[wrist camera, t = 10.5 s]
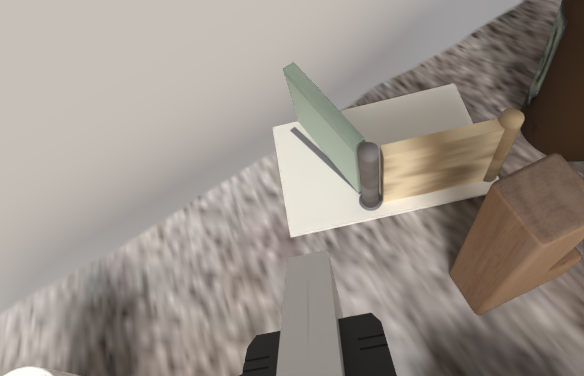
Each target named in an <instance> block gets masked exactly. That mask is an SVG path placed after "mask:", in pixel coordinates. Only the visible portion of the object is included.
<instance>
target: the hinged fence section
mask: <svg viewBox="0 0 584 376" xmlns="http://www.w3.org/2000/svg"><path fill="white" fill-rule="evenodd" d="M283 71H284V74H285V76H286V80H287V83H288V86H289V90H290V94H291V97H292V101H293V104H294V108H295V111H296V115H297V118H298V122H299V123H300V124H301V126H302V127H303V128H304V129H305V130H306V132H307V133H308V134H309V135H310V136H311V137H312V139H313V140H314V141H315V142H316V143H317V145H318V146H319V147H320V148H321V149H322V150H323V152H324V153H325V154H326V155H327V156H328V158H329V159H330V160H331V161H332V162H333V164H334V165H335V166H336V167H337V168H338V169H339V171H340V172H341V173H342V174H343V175H344V177H345V178H346V179H347V180H348V181H349V182H350V184H351V185H352V186H353V187H354V188H355V190H356V191H357V192H358V193H359V192H361V185H360V174H359V163H358V152H357V150H358V147H359V146H360V145H361V144H362V143H365V137H364V136H363V135H362V134H361V133H360V132H359V131H358V130H357V129H356V128H355V127H354V126H353V125H352V124H351V123H350V122H349V120H348V119H347V118H346V117H345V116H344V115H343V114H342V113H341V112H340V111H339V110H338V109H337V108H336V107H335V106H334V105H333V104H332V102H331V101H330V100H329V99H328V98H327V97H326V96H325V95H324V94H323V93H322V92H321V91H320V90H319V89H318V87H316V85H315V84H314V83H313V82H312V81H311V80H310V79H309V78H308V77H307V76H306V75H305V74H304V73H303V72H302V71H301V69H300V68H299V67H298V66H297V65H296V64H295V63H291V64H290V65H288V66H286V67H285V68H283Z"/></svg>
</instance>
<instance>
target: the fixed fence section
mask: <svg viewBox="0 0 584 376" xmlns="http://www.w3.org/2000/svg"><path fill="white" fill-rule="evenodd" d="M524 119H525V117H524V114H523V113H522V112H521V111H519V110H517V109H513V108H510V109H506V110H504V111H503V112H502V113H501V116H500V118H497V119H493V120H488V121H484V122H480V123H475V124H471V125H467V126H463V127H458V128H454V129H450V130H445V131H441V132H437V133H433V134H428V135H424V136H420V137H415V138H411V139H407V140H402V141H398V142H394V143H390V144H385V145H381V146H380V189H381V196H382V199H383V203H386V202H390V201H395V200H399V199H404V198H408V197H413V196H417V195H422V194H426V193H431V192H435V191H440V190H444V189H449V188H453V187H458V186H463V185H467V184H472V183H476V182H481V181H484V182H492V181H494V180H495V179H496V177H497V175H498V173H499V171H500V169H501V167H502V165H503V163H504V161H505V159H506V157H507V155H508V153H509V151H510V148H511V146H512V144H513V142H514V140H515V138H516V136H517V134H518V132H519V130H520V128H521V126H522V124H523V122H524ZM357 152H358V163H359V174H360V185H361V196H362V203H363V205H364V206H366V207H368V208H373V207H375V206H377V205H378V203H379V148H378V146H377V145H376V144H375V143H372V142H365V143H362V144H361V145H360V146H359V147H358V150H357Z"/></svg>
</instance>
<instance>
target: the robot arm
mask: <svg viewBox="0 0 584 376" xmlns="http://www.w3.org/2000/svg"><path fill="white" fill-rule="evenodd" d="M240 376H397V375H396V372H395V368H394V365H393V361H392V358H391V355H390V351H389V348H388V344H387V341H386V337H385V334H384V330H383V327H382V324H381V321H380V320H378V319H377V318H376V317H375V316H374V315H373V314H372V313H367V314H362V315H357V316H351V317H346V318H343V313H342V309H341V304H340V300H339V296H338V292H337V287H336V283H335V279H334V274H333V270H332V266H331V262H330V257H329V253H328V250H325V251H320V252H315V253H310V254H305V255H300V256H295V257H291V258H288V261H287V271H286V281H285V291H284V302H283V312H282V322H281V331H277V332H272V333H267V334H261V335H256V337H255V338H254V339H253V341H252V342H251V344H250V345H249V346H248V348H247V353H246V357H245V363H244V367H243V373H242V375H240Z"/></svg>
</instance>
